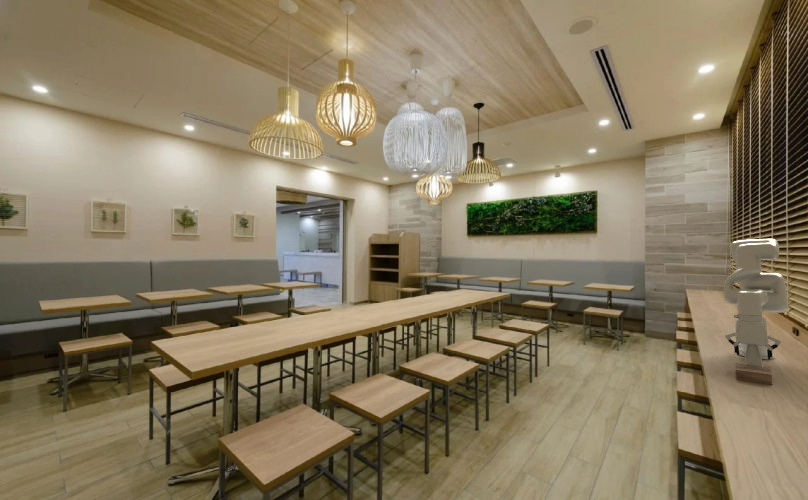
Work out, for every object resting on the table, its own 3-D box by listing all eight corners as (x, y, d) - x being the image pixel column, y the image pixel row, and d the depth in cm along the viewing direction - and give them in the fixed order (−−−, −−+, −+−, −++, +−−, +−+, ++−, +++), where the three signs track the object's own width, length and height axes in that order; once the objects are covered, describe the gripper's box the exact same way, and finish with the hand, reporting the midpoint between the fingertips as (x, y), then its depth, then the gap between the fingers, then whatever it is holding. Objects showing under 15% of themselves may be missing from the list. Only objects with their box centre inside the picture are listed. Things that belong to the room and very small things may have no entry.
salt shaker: (767, 370, 145) (765, 340, 146) (752, 370, 147) (749, 340, 147) (756, 365, 151) (754, 337, 152) (741, 365, 152) (739, 337, 153)
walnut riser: (736, 372, 145) (735, 363, 145) (770, 377, 138) (769, 367, 138) (736, 379, 138) (735, 369, 138) (772, 385, 131) (771, 374, 131)
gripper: (722, 317, 153) (725, 355, 153) (779, 321, 140) (782, 362, 140) (724, 315, 158) (727, 351, 158) (779, 319, 145) (782, 358, 145)
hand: (753, 356), depth 149 cm, fingers open, 9 cm apart
